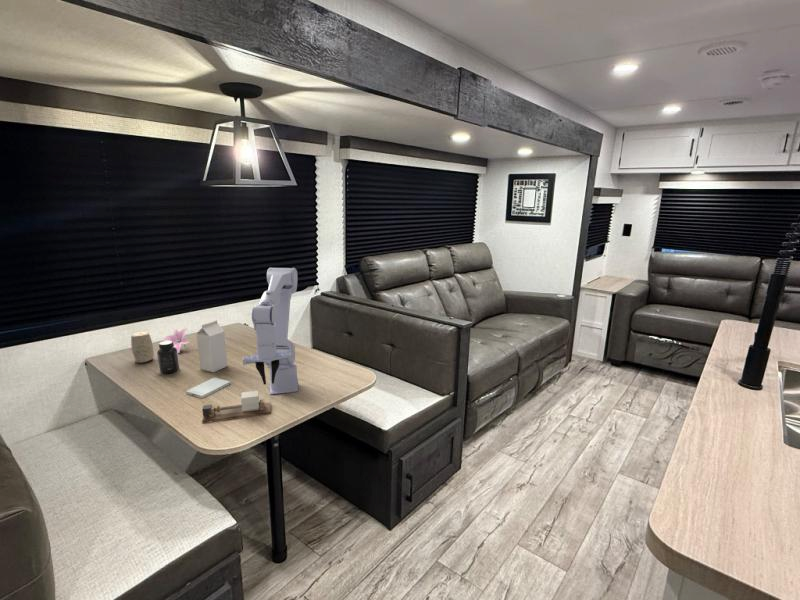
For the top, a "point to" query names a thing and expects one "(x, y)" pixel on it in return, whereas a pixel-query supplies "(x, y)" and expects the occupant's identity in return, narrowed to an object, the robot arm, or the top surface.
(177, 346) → the lily
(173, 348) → the supplement bottle
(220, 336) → the milk carton
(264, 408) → the cord rail
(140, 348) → the cream barrel-shaped cylinder
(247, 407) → the white rounded cube
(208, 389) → the hard drive
